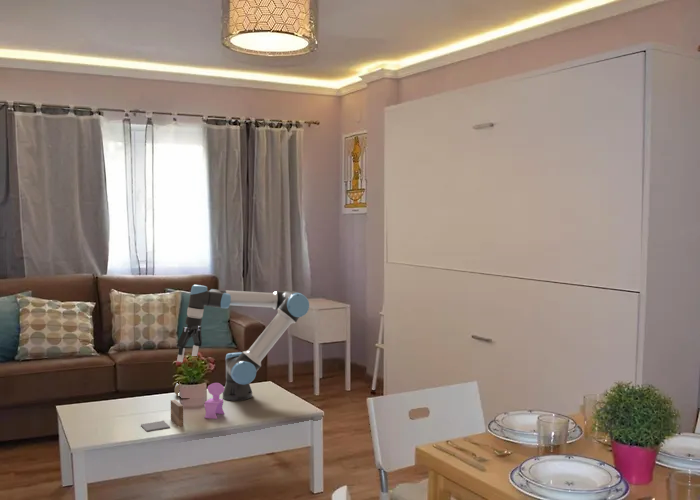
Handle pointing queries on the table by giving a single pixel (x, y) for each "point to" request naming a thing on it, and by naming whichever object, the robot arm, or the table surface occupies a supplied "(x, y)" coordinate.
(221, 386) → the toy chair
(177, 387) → the ceramic mug
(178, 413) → the brown wooden slab
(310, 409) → the table surface
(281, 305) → the robot arm
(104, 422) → the table surface
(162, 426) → the coaster
